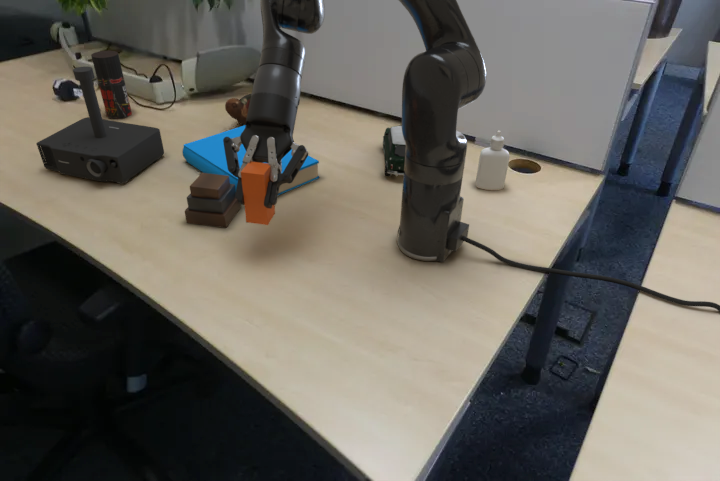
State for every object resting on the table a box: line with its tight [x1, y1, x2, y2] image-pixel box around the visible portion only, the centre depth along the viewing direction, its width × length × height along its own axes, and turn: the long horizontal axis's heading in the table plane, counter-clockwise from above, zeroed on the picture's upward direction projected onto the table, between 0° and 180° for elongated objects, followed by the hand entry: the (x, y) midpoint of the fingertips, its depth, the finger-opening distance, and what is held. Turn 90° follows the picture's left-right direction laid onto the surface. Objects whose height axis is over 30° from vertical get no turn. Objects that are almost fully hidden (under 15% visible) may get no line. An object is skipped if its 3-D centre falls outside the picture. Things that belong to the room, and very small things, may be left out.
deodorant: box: [90, 50, 133, 120], centre depth 134 cm, size 6×6×15 cm
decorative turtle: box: [224, 93, 252, 126], centre depth 132 cm, size 10×15×8 cm, turn 130°
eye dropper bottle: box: [475, 130, 511, 191], centre depth 108 cm, size 4×6×12 cm
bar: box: [241, 162, 276, 226], centre depth 85 cm, size 4×4×9 cm
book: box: [182, 124, 320, 196], centre depth 114 cm, size 17×4×25 cm
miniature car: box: [382, 124, 406, 177], centre depth 117 cm, size 9×18×8 cm, turn 0°
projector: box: [36, 66, 165, 184], centre depth 110 cm, size 19×17×20 cm
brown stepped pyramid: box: [184, 172, 242, 229], centre depth 98 cm, size 8×8×7 cm
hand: (254, 204), depth 84 cm, fingers closed on bar, 3 cm apart
